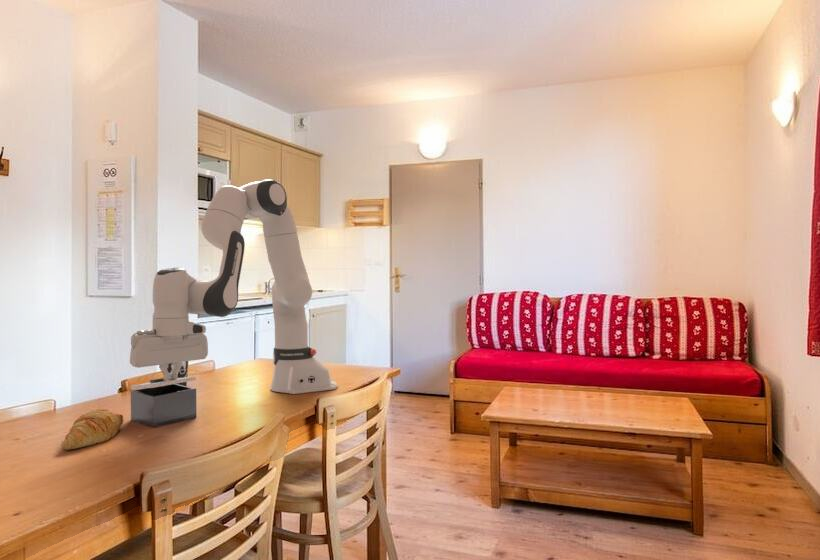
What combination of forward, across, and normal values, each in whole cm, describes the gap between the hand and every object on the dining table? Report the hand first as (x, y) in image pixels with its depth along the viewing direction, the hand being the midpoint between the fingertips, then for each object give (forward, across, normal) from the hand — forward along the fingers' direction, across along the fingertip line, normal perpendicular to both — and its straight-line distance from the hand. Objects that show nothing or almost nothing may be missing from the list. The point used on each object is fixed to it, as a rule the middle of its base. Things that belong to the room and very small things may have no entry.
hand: (170, 379), depth 142 cm
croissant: (+12, -19, +2) cm, 22 cm away
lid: (+2, 0, +4) cm, 5 cm away
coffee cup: (+11, +24, +40) cm, 48 cm away
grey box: (+11, 0, +4) cm, 12 cm away
